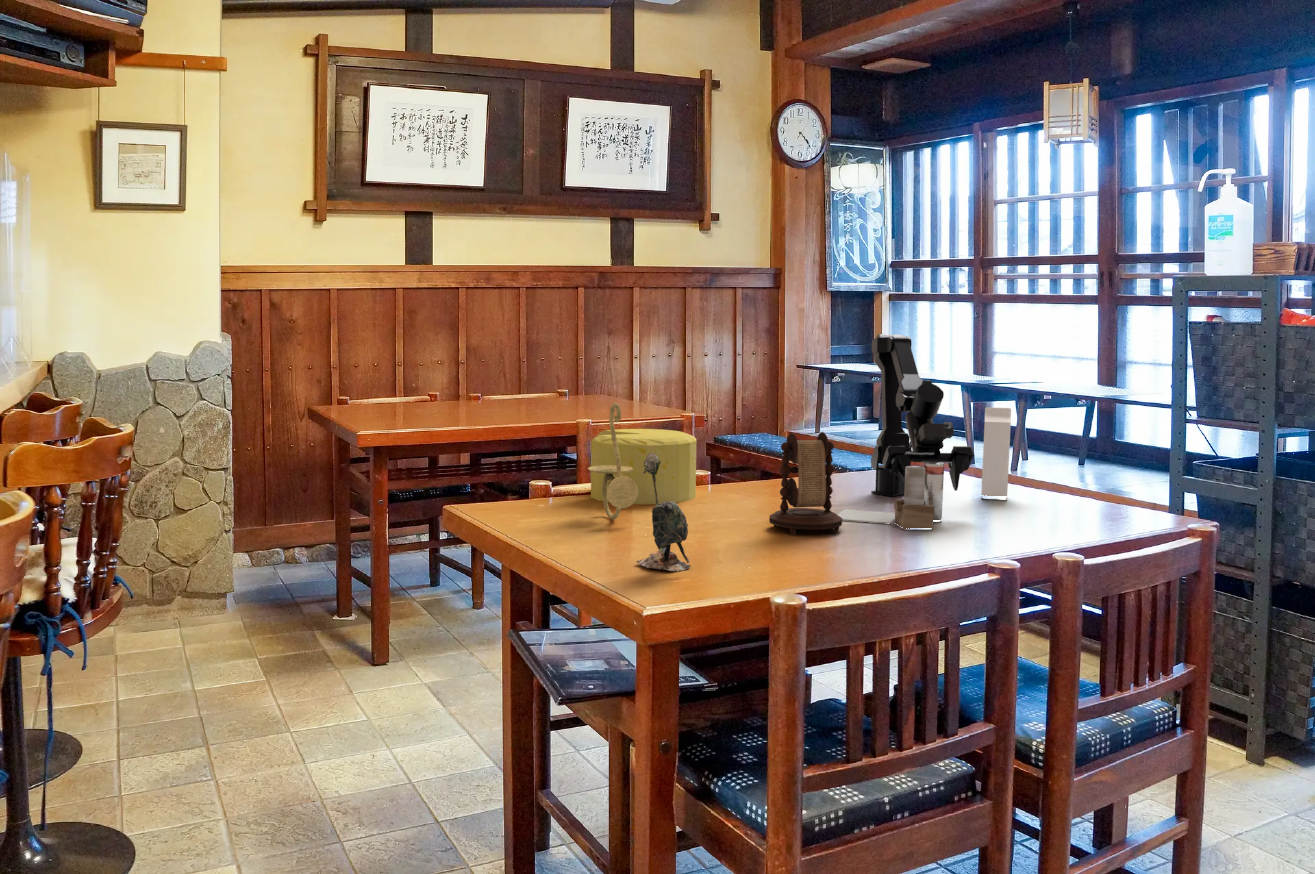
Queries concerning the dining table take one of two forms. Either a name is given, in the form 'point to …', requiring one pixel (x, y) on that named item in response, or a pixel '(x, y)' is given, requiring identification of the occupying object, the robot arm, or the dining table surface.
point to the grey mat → (866, 516)
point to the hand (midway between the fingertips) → (935, 489)
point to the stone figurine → (665, 528)
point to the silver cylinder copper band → (934, 487)
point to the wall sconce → (622, 487)
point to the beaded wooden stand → (806, 486)
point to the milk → (996, 451)
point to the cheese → (634, 448)
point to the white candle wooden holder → (914, 501)
